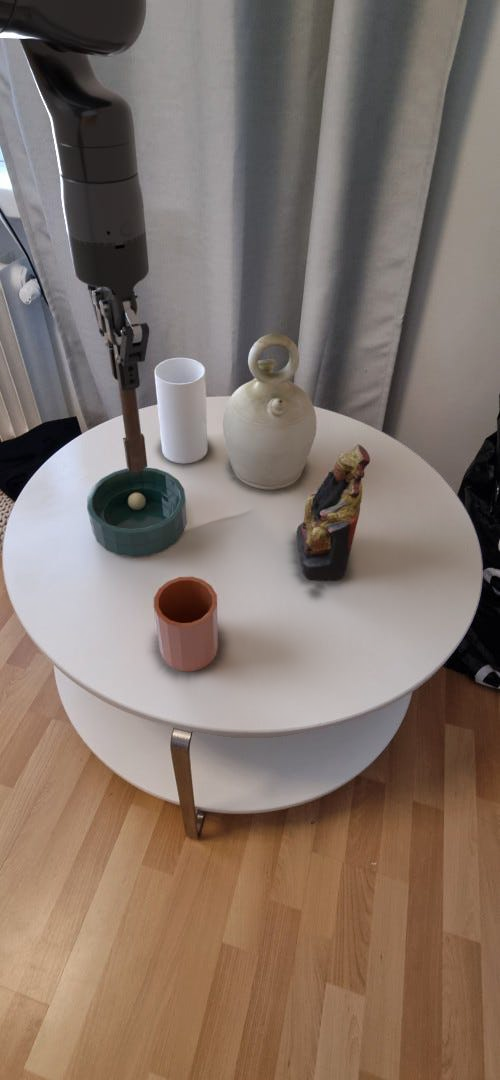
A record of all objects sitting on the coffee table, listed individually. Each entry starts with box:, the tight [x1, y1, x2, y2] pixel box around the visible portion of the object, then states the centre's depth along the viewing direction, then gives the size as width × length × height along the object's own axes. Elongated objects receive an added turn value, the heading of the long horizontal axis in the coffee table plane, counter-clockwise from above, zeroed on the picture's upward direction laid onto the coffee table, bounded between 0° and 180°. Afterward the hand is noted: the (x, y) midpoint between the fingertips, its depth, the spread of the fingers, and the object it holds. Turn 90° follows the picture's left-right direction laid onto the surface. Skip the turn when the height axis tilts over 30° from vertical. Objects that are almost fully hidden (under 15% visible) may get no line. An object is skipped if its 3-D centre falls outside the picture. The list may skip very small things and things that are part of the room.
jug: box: [222, 332, 317, 491], centre depth 95 cm, size 15×16×25 cm
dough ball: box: [128, 493, 146, 510], centre depth 94 cm, size 3×3×3 cm
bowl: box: [86, 466, 188, 558], centre depth 91 cm, size 15×15×6 cm
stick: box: [113, 345, 148, 472], centre depth 72 cm, size 3×2×18 cm
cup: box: [154, 357, 209, 464], centre depth 101 cm, size 8×8×16 cm
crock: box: [153, 576, 219, 672], centre depth 74 cm, size 8×8×10 cm
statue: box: [296, 444, 371, 593], centre depth 82 cm, size 12×8×20 cm, turn 178°
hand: (126, 382), depth 69 cm, fingers closed on stick, 2 cm apart
